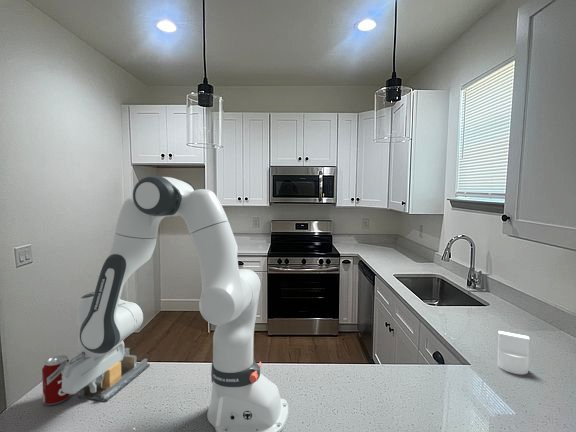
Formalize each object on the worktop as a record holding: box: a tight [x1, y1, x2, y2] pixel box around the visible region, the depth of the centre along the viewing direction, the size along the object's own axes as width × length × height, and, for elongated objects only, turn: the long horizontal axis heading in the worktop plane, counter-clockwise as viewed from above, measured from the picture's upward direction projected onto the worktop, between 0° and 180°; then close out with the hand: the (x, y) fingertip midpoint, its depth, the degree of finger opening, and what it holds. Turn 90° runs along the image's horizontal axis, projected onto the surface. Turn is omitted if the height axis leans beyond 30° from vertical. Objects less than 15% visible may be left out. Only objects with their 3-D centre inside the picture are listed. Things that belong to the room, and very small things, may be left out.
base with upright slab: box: [496, 330, 530, 375], centre depth 111 cm, size 9×9×12 cm
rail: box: [77, 347, 151, 402], centre depth 101 cm, size 10×20×6 cm, turn 169°
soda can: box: [41, 355, 72, 406], centre depth 91 cm, size 7×7×12 cm
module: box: [96, 362, 121, 389], centre depth 98 cm, size 5×5×7 cm
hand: (96, 390), depth 93 cm, fingers closed
